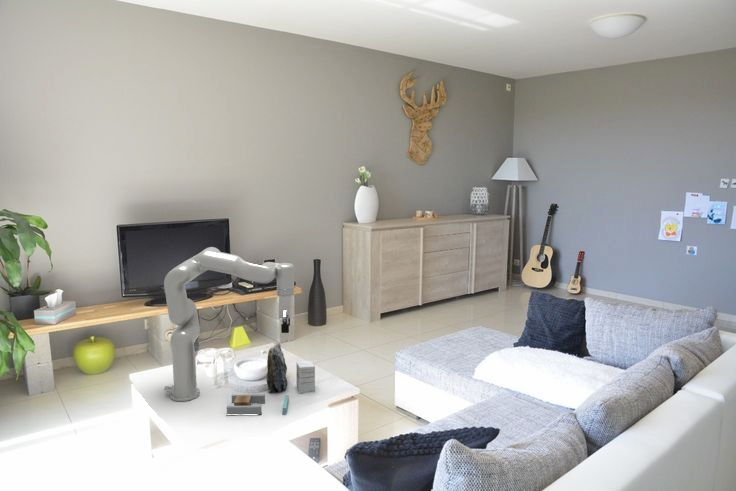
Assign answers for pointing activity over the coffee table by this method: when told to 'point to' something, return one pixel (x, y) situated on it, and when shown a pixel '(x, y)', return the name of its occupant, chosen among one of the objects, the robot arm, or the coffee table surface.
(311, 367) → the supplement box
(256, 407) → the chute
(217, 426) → the coffee table surface
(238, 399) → the walnut block
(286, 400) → the bar
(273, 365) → the stone block
